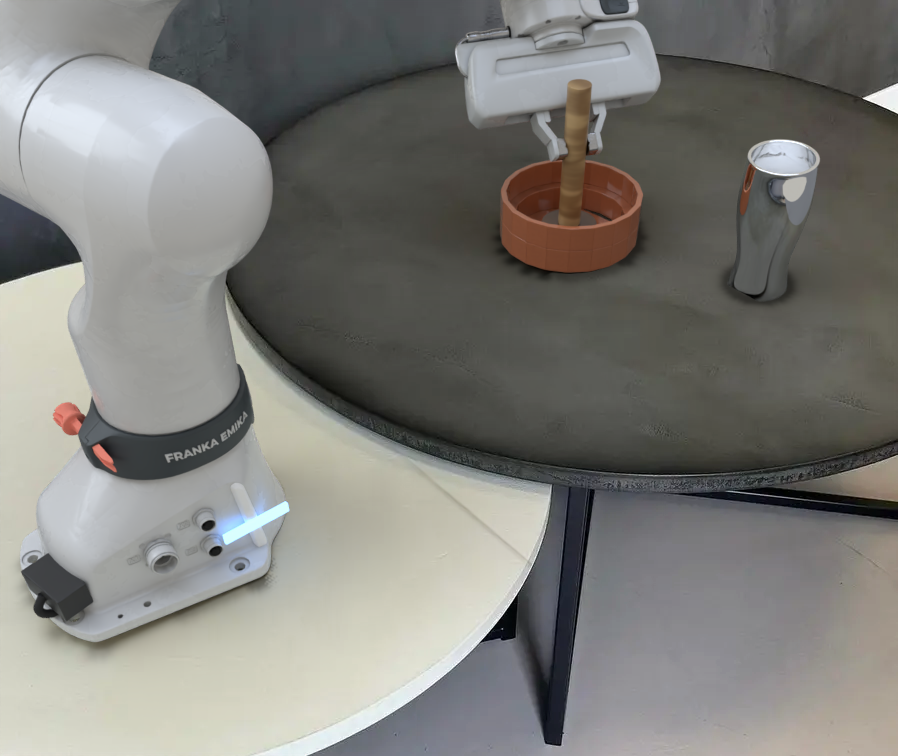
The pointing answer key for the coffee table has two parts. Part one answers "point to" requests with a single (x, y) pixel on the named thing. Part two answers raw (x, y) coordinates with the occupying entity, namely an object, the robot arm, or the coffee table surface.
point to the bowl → (569, 245)
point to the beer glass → (772, 215)
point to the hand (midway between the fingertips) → (577, 156)
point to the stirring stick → (574, 158)
